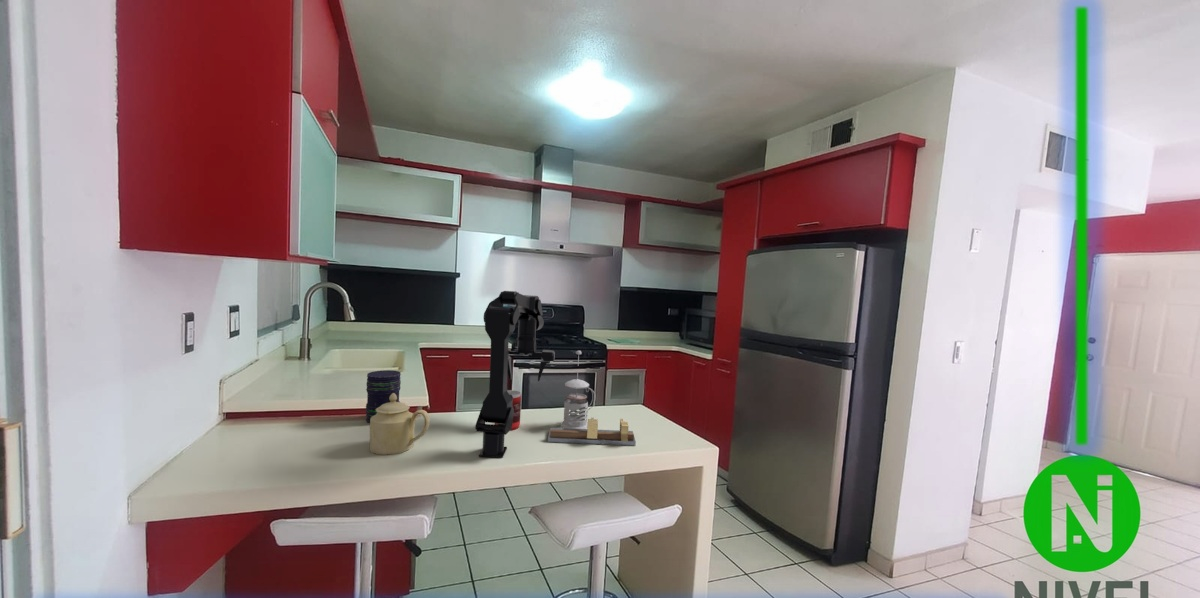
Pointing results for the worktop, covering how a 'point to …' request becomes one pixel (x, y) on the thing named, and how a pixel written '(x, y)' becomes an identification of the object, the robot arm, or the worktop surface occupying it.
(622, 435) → the beam
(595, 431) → the slider
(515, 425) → the canned food
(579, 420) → the french press
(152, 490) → the worktop surface
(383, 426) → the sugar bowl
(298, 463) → the worktop surface
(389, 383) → the storage jar
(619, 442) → the plate
